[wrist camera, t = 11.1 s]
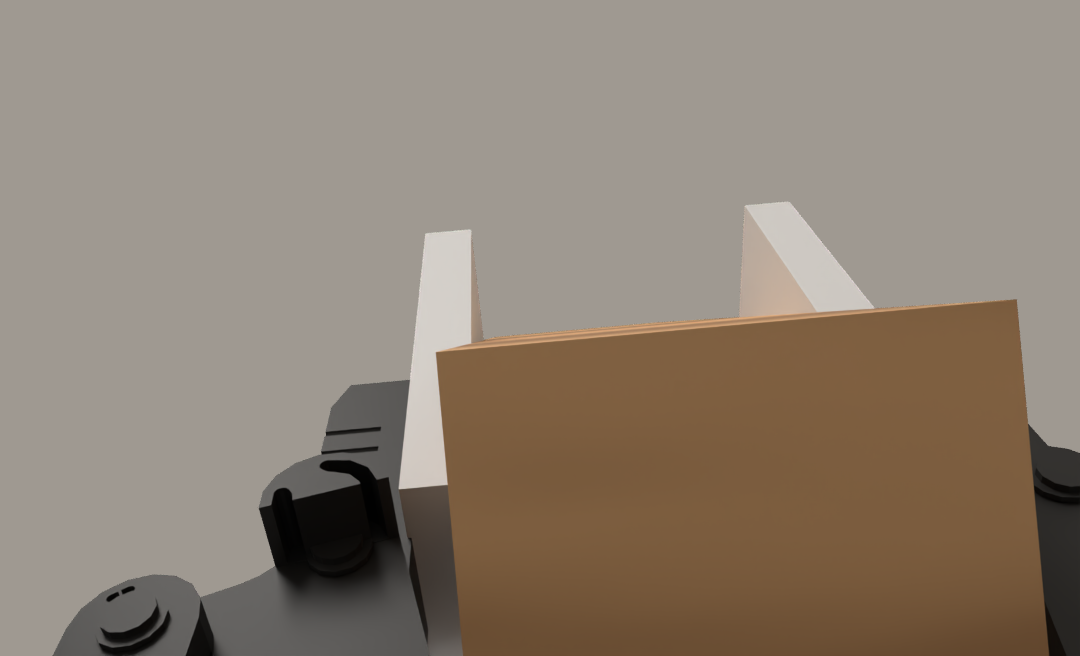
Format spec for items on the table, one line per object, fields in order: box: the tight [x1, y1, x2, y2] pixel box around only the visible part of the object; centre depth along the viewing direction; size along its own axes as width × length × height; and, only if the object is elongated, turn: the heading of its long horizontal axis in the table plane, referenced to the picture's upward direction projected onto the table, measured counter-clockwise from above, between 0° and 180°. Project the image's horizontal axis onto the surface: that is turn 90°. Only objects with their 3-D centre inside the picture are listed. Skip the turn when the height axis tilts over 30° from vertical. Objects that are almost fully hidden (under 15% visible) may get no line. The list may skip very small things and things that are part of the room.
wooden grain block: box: [436, 300, 1049, 656], centre depth 17 cm, size 19×5×4 cm, turn 1°
